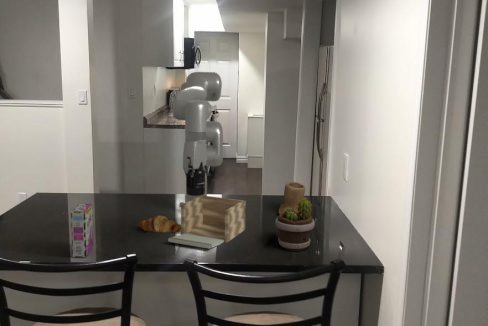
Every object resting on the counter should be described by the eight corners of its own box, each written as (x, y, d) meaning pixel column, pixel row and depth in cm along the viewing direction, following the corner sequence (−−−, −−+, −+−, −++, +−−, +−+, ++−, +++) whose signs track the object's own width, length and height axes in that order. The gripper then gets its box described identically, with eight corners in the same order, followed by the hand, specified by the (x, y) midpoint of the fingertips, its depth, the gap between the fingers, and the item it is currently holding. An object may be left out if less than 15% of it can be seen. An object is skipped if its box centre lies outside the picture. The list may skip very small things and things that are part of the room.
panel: (184, 233, 183) (168, 237, 172) (223, 239, 176) (209, 244, 165) (184, 236, 183) (168, 241, 172) (223, 243, 176) (209, 248, 165)
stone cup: (303, 219, 211) (304, 186, 208) (276, 217, 213) (277, 185, 211) (305, 210, 225) (306, 179, 223) (280, 208, 228) (281, 178, 225)
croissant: (187, 240, 191) (191, 221, 193) (179, 236, 182) (183, 216, 184) (140, 233, 197) (145, 215, 199) (130, 229, 187) (134, 209, 190)
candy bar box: (87, 257, 161) (85, 211, 158) (72, 258, 161) (69, 211, 158) (94, 246, 172) (92, 203, 169) (80, 246, 172) (78, 203, 169)
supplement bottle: (202, 196, 167) (202, 163, 164) (183, 195, 168) (183, 162, 166) (207, 192, 173) (207, 160, 171) (189, 191, 174) (189, 159, 172)
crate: (201, 225, 199) (201, 195, 197) (245, 232, 191) (245, 200, 189) (181, 237, 184) (181, 204, 181) (227, 245, 176) (228, 211, 174)
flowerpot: (274, 253, 169) (276, 199, 165) (274, 239, 184) (275, 189, 180) (315, 254, 168) (318, 200, 164) (311, 240, 183) (313, 190, 180)
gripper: (198, 133, 176) (198, 179, 179) (173, 138, 160) (174, 189, 163) (216, 134, 173) (215, 181, 176) (193, 140, 157) (193, 191, 161)
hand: (195, 185), depth 170 cm, fingers closed on supplement bottle, 6 cm apart
